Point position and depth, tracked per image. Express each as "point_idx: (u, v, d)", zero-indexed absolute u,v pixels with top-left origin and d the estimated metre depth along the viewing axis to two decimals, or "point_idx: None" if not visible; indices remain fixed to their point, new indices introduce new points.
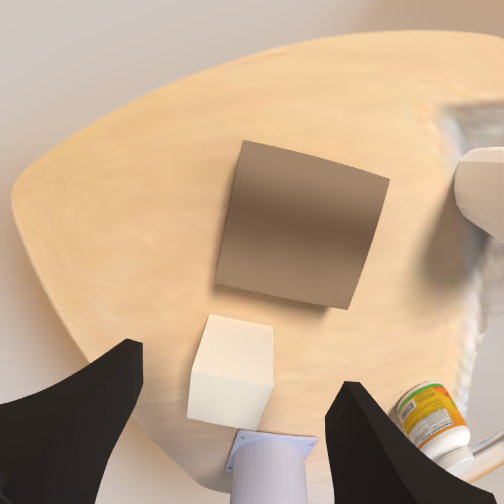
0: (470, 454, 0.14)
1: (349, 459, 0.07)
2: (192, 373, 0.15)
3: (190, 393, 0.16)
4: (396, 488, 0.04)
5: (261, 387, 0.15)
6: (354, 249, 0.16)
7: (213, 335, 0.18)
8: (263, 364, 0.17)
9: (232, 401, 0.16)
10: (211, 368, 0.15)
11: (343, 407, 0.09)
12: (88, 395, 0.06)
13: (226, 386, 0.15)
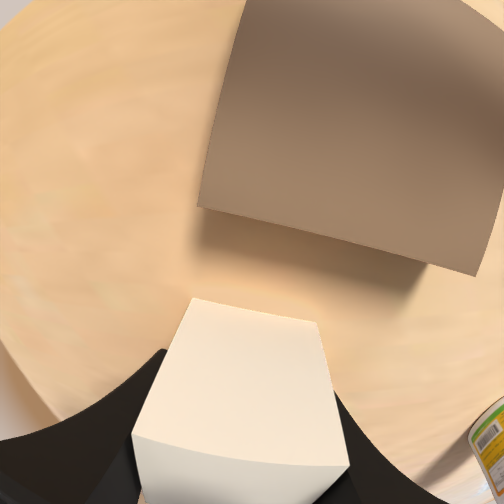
0: None
1: None
2: (135, 440, 0.05)
3: (141, 473, 0.05)
4: (348, 493, 0.04)
5: (317, 471, 0.05)
6: (492, 146, 0.06)
7: (197, 340, 0.08)
8: (315, 410, 0.06)
9: (241, 493, 0.05)
10: (184, 429, 0.05)
11: None
12: (135, 412, 0.06)
13: (226, 471, 0.05)
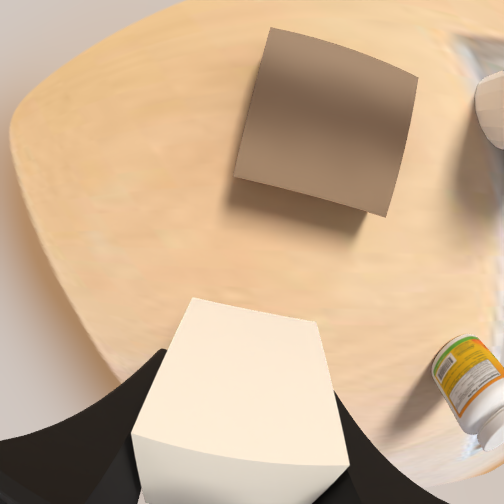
0: None
1: None
2: (135, 440, 0.05)
3: (141, 473, 0.05)
4: (349, 493, 0.04)
5: (317, 470, 0.05)
6: (390, 144, 0.13)
7: (197, 340, 0.08)
8: (315, 410, 0.06)
9: (241, 493, 0.05)
10: (184, 428, 0.05)
11: None
12: (135, 412, 0.06)
13: (226, 471, 0.05)
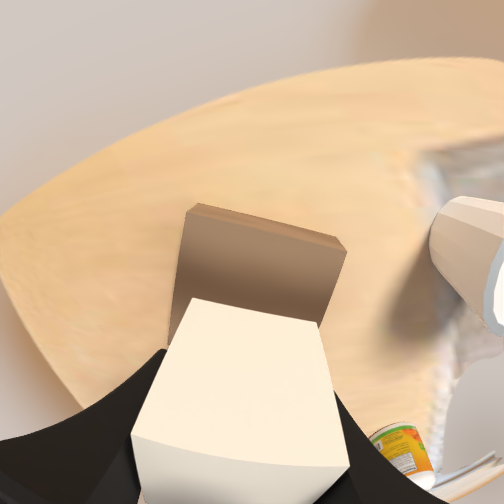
0: None
1: None
2: (134, 440, 0.05)
3: (141, 474, 0.05)
4: (348, 494, 0.04)
5: (317, 472, 0.05)
6: None
7: (197, 340, 0.08)
8: (315, 411, 0.06)
9: (241, 494, 0.05)
10: (184, 430, 0.05)
11: None
12: (135, 412, 0.06)
13: (225, 472, 0.05)
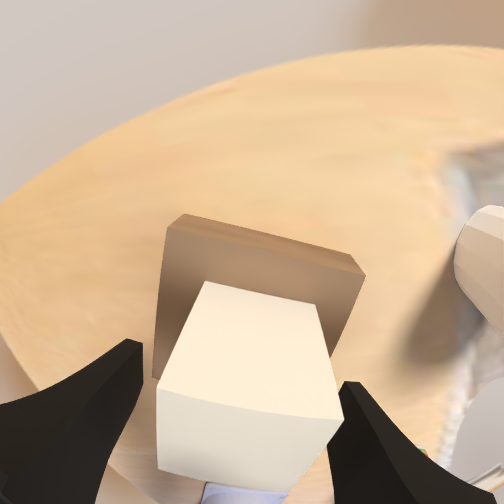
0: None
1: (349, 459, 0.07)
2: (159, 395, 0.06)
3: (159, 433, 0.07)
4: (396, 488, 0.04)
5: (315, 424, 0.06)
6: None
7: (211, 315, 0.09)
8: (314, 374, 0.08)
9: (249, 451, 0.07)
10: (202, 384, 0.06)
11: (343, 407, 0.09)
12: (88, 395, 0.06)
13: (236, 424, 0.06)
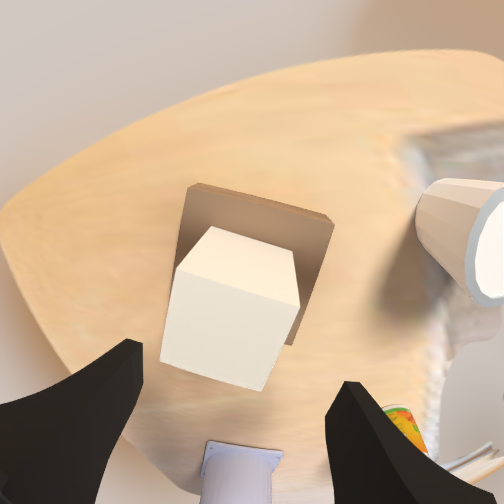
0: None
1: (349, 459, 0.07)
2: (176, 275, 0.10)
3: (169, 314, 0.11)
4: (396, 488, 0.04)
5: (280, 308, 0.10)
6: None
7: (214, 242, 0.14)
8: (282, 282, 0.12)
9: (232, 333, 0.11)
10: (206, 271, 0.11)
11: (343, 407, 0.09)
12: (88, 395, 0.06)
13: (226, 302, 0.10)
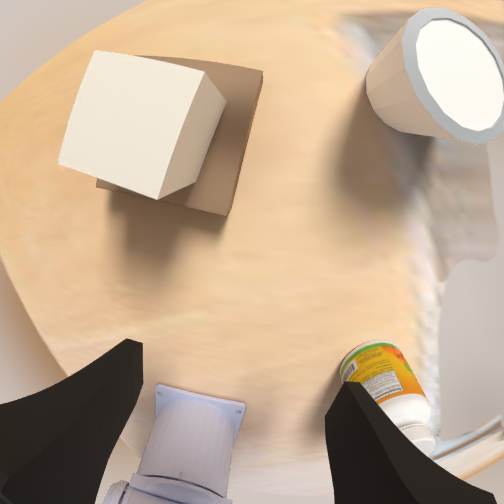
0: (428, 433, 0.12)
1: (349, 459, 0.07)
2: (93, 57, 0.08)
3: (77, 99, 0.08)
4: (396, 488, 0.04)
5: (183, 74, 0.08)
6: (226, 143, 0.14)
7: None
8: None
9: (131, 109, 0.08)
10: (121, 56, 0.08)
11: (343, 407, 0.09)
12: (88, 395, 0.06)
13: (130, 74, 0.08)
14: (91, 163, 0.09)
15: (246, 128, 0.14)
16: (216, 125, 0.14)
